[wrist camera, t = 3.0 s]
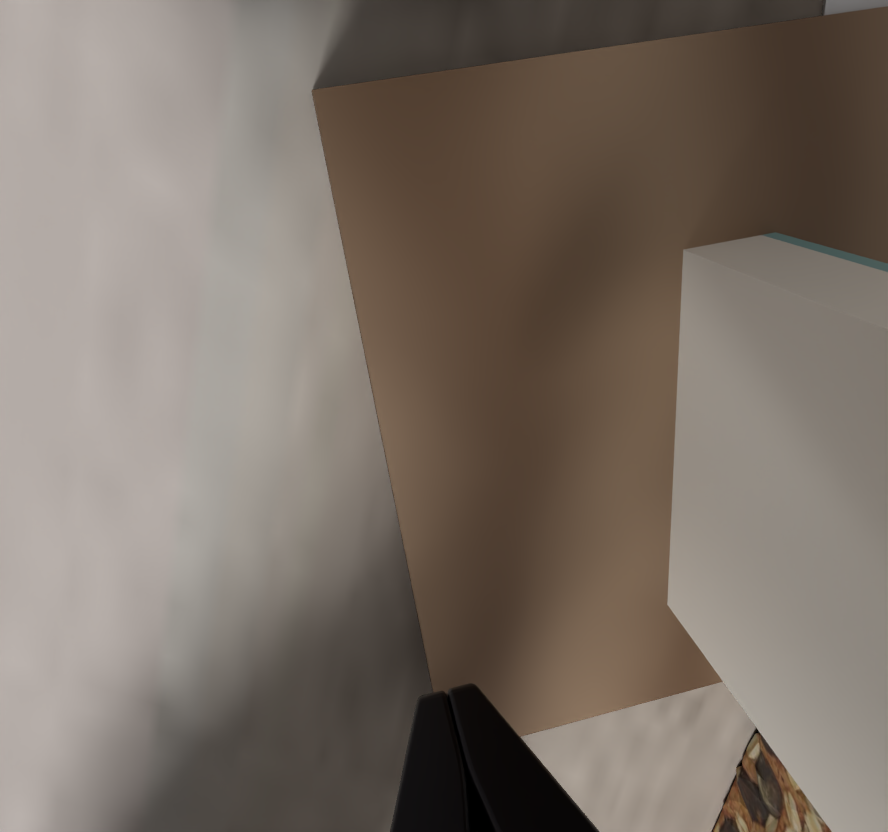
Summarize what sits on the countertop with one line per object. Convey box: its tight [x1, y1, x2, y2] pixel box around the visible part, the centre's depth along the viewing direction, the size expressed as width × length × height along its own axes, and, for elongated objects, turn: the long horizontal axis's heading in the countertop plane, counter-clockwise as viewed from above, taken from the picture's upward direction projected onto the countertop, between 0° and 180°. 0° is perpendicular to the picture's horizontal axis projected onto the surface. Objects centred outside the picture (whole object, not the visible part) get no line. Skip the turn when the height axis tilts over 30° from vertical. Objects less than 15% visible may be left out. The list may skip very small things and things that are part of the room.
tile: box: [667, 232, 888, 832], centre depth 11 cm, size 2×9×7 cm, turn 7°
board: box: [312, 6, 888, 737], centre depth 15 cm, size 16×16×1 cm
